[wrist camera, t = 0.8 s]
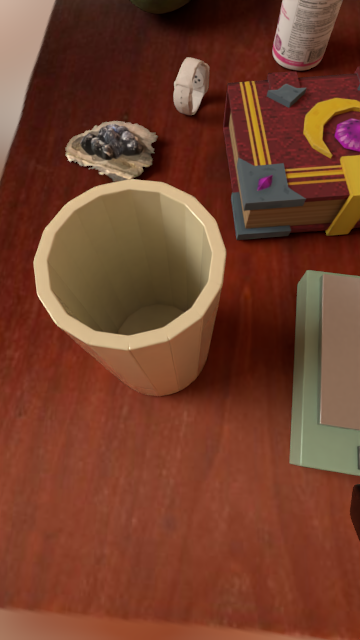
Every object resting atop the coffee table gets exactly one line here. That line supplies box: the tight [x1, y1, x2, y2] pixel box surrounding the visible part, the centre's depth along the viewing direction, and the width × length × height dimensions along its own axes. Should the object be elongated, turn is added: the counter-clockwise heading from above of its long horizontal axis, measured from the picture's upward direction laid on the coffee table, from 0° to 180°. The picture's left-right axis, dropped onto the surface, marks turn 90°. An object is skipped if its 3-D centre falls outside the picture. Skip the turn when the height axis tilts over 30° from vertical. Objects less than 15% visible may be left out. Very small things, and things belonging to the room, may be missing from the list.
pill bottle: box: [273, 0, 342, 71], centre depth 28 cm, size 5×5×8 cm
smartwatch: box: [174, 57, 209, 115], centre depth 28 cm, size 4×2×4 cm, turn 155°
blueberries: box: [65, 121, 158, 181], centre depth 28 cm, size 7×8×2 cm
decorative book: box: [223, 67, 360, 240], centre depth 25 cm, size 11×16×5 cm
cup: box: [34, 179, 226, 396], centre depth 17 cm, size 7×7×12 cm
